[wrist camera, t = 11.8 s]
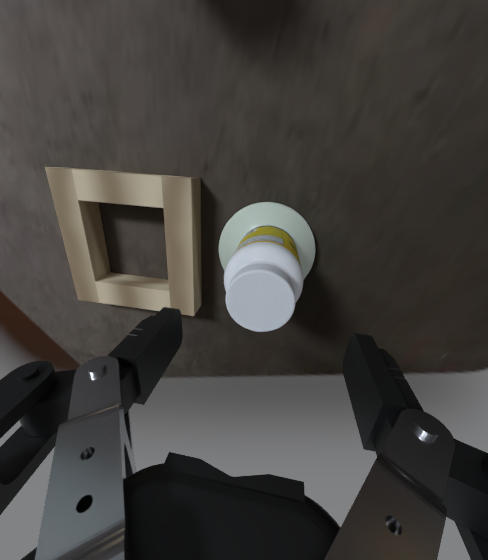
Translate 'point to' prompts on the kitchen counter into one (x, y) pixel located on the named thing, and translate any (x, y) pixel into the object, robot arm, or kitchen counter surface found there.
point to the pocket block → (92, 247)
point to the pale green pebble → (268, 216)
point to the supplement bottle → (263, 279)
